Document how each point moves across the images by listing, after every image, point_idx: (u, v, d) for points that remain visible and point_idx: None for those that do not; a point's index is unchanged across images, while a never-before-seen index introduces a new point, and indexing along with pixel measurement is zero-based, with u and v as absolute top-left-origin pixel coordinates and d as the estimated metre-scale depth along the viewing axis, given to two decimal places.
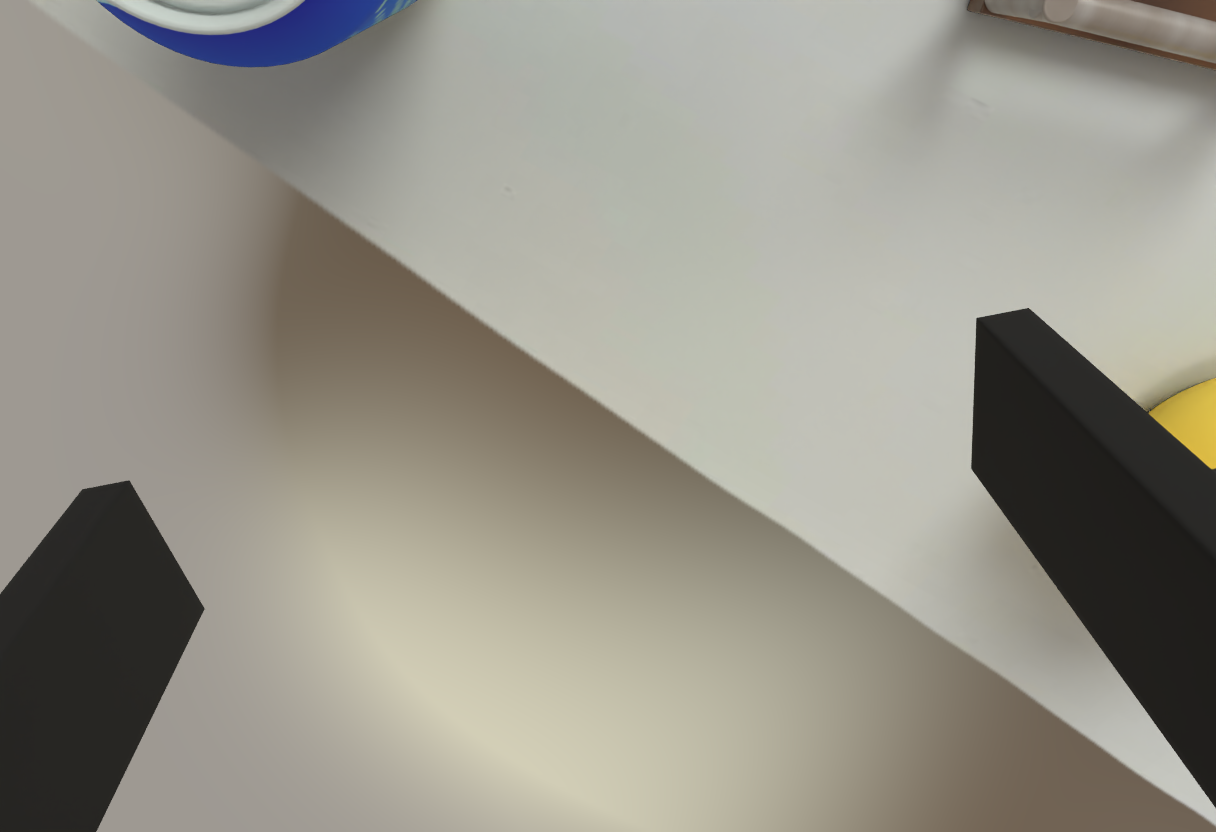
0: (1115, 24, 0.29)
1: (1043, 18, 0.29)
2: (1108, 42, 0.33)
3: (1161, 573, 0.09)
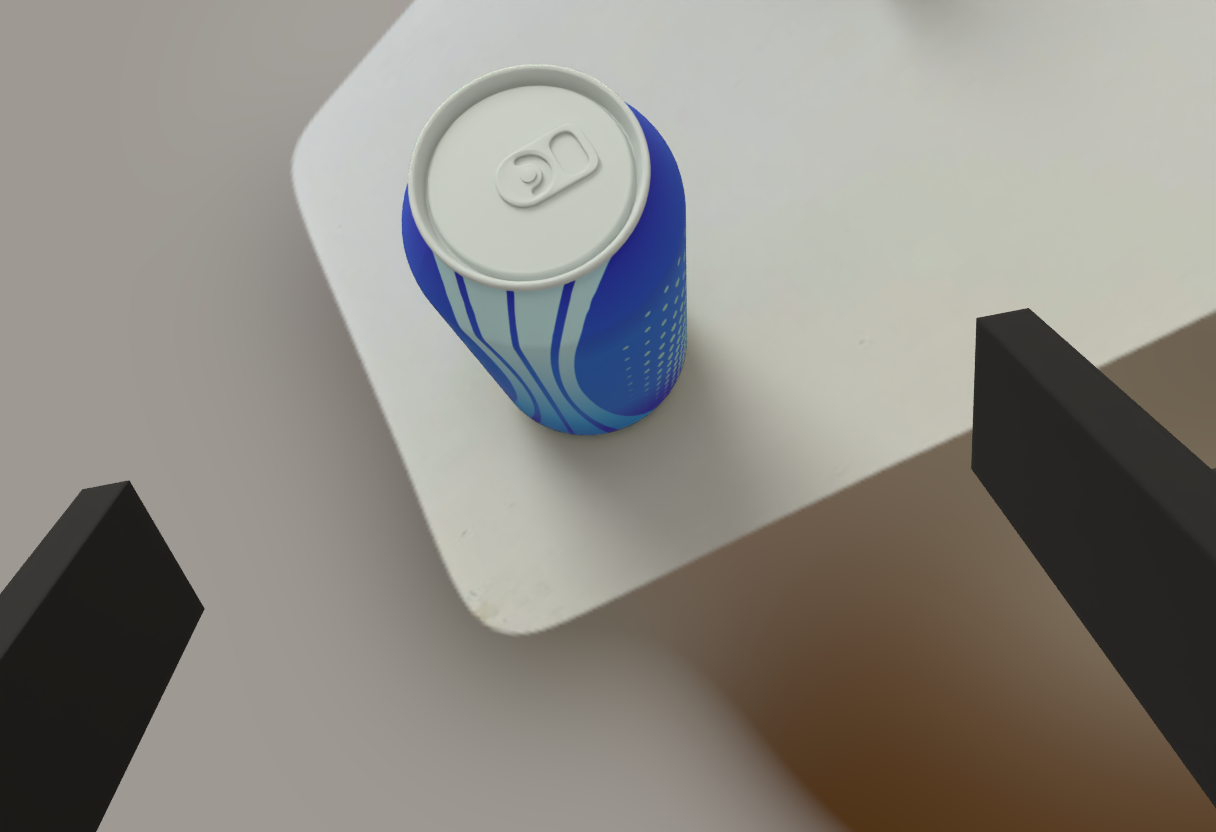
0: None
1: None
2: None
3: (1162, 573, 0.09)
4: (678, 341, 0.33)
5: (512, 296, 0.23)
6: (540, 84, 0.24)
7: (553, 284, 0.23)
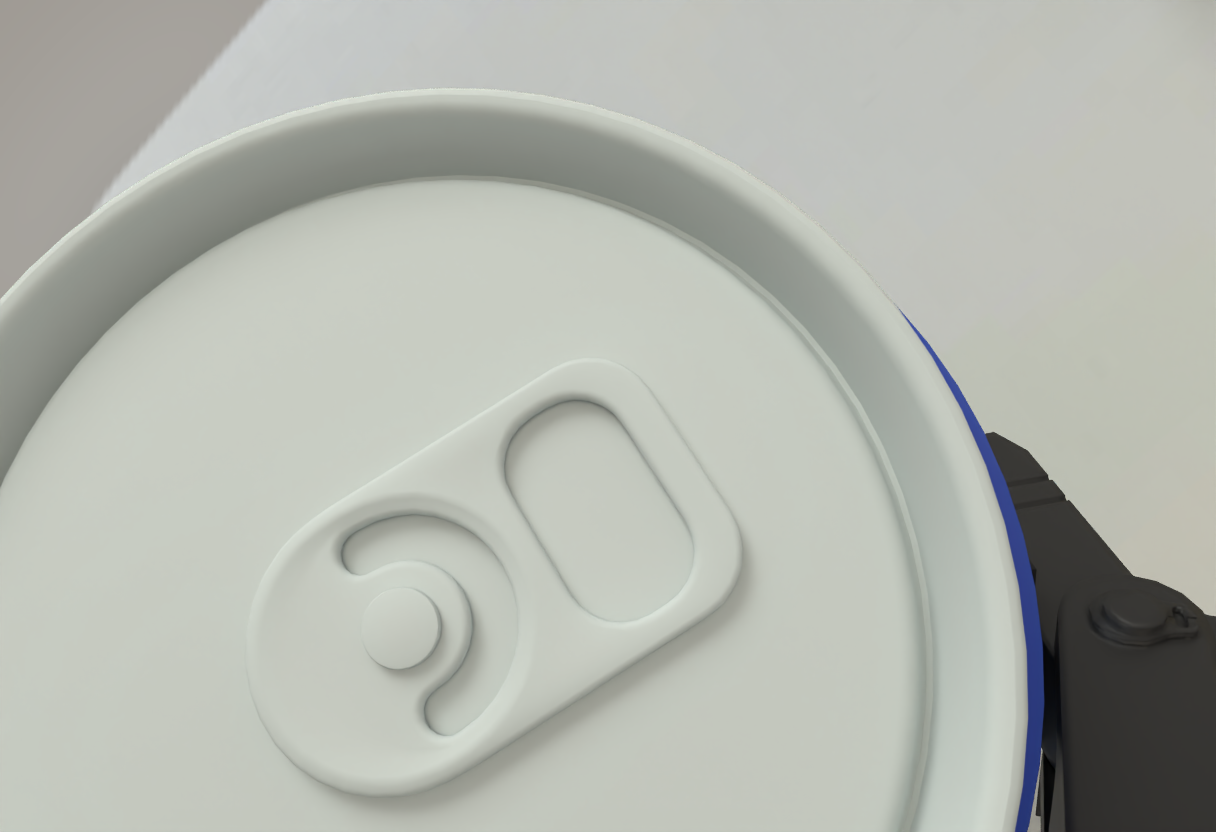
0: None
1: None
2: None
3: None
4: None
5: None
6: (459, 171, 0.06)
7: None
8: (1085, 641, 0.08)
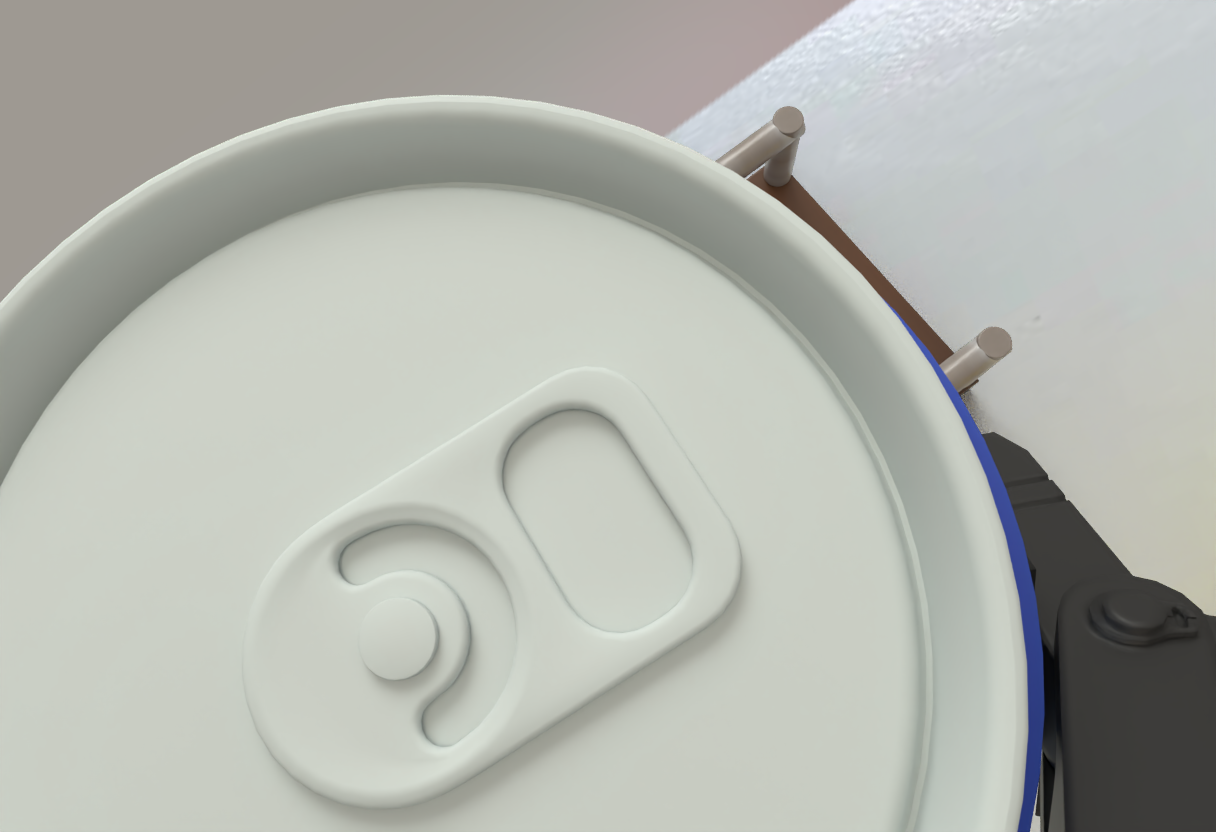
0: None
1: None
2: None
3: None
4: None
5: None
6: (458, 178, 0.06)
7: None
8: (1084, 641, 0.08)
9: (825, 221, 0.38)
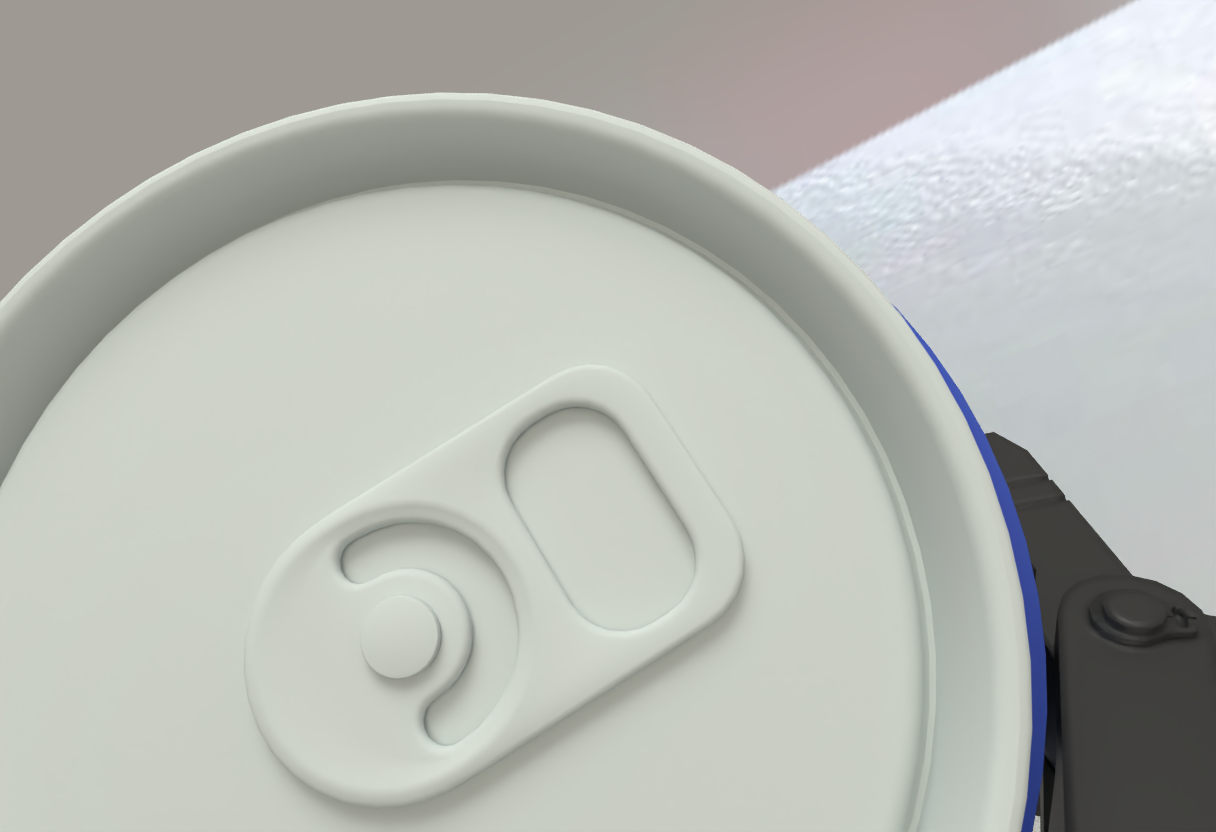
0: None
1: None
2: None
3: None
4: None
5: None
6: (460, 176, 0.06)
7: None
8: (1085, 641, 0.08)
9: None
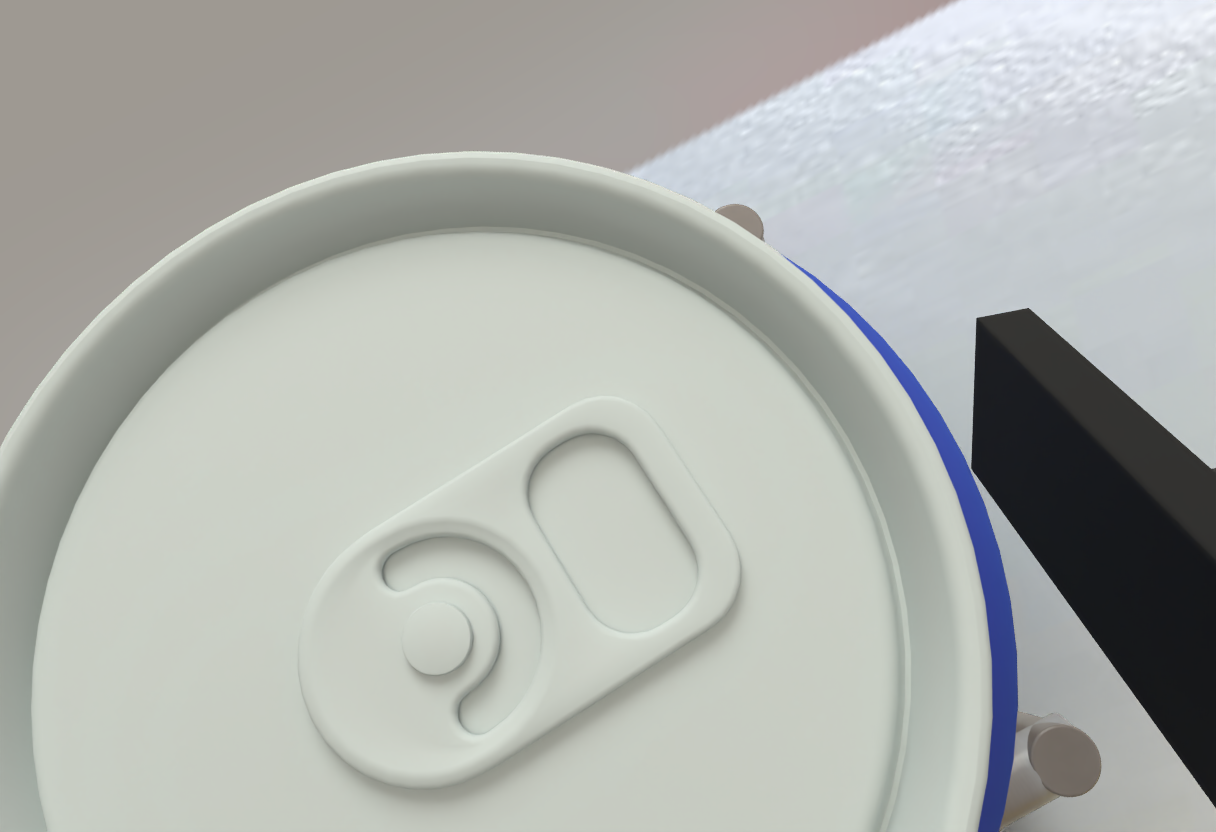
0: None
1: None
2: None
3: (1162, 573, 0.09)
4: None
5: None
6: (484, 223, 0.06)
7: None
8: None
9: None
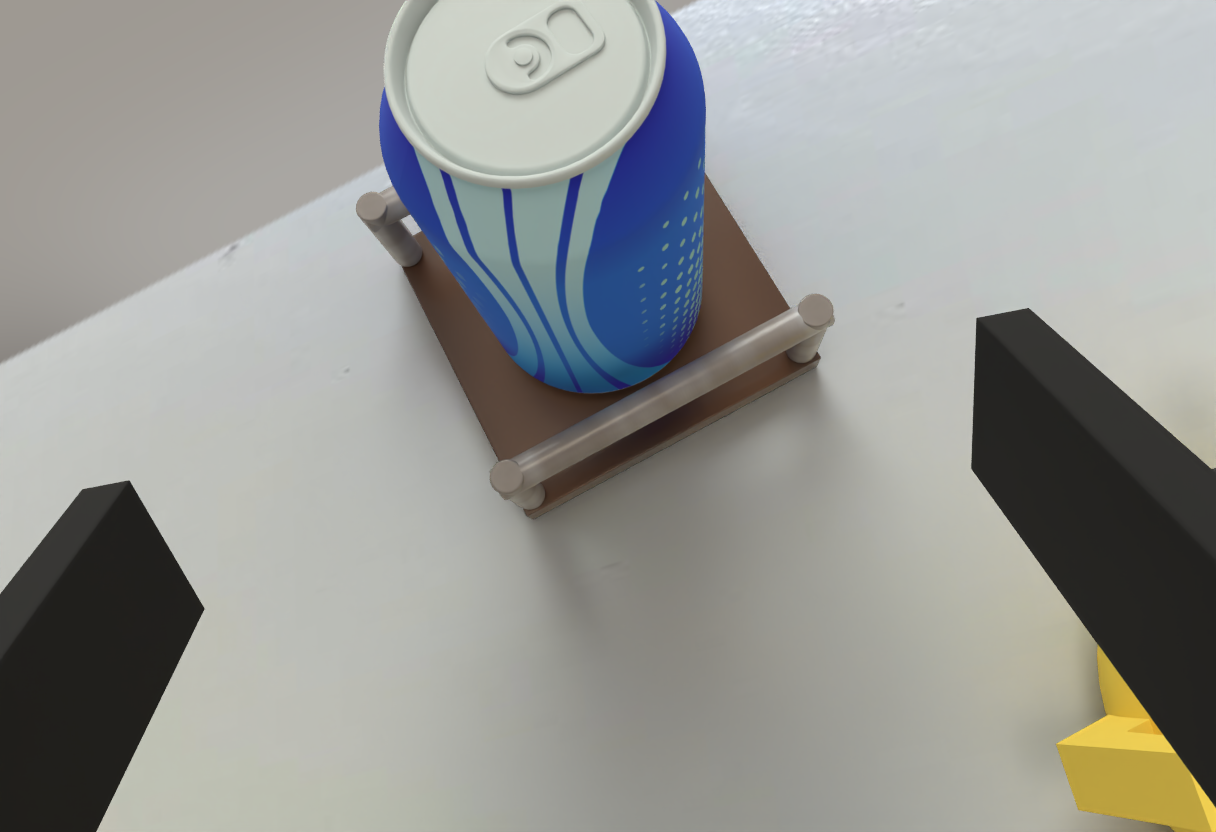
0: (564, 452, 0.30)
1: (506, 494, 0.30)
2: (648, 449, 0.34)
3: (1161, 573, 0.09)
4: (695, 277, 0.29)
5: (509, 197, 0.20)
6: None
7: (557, 177, 0.19)
8: None
9: None
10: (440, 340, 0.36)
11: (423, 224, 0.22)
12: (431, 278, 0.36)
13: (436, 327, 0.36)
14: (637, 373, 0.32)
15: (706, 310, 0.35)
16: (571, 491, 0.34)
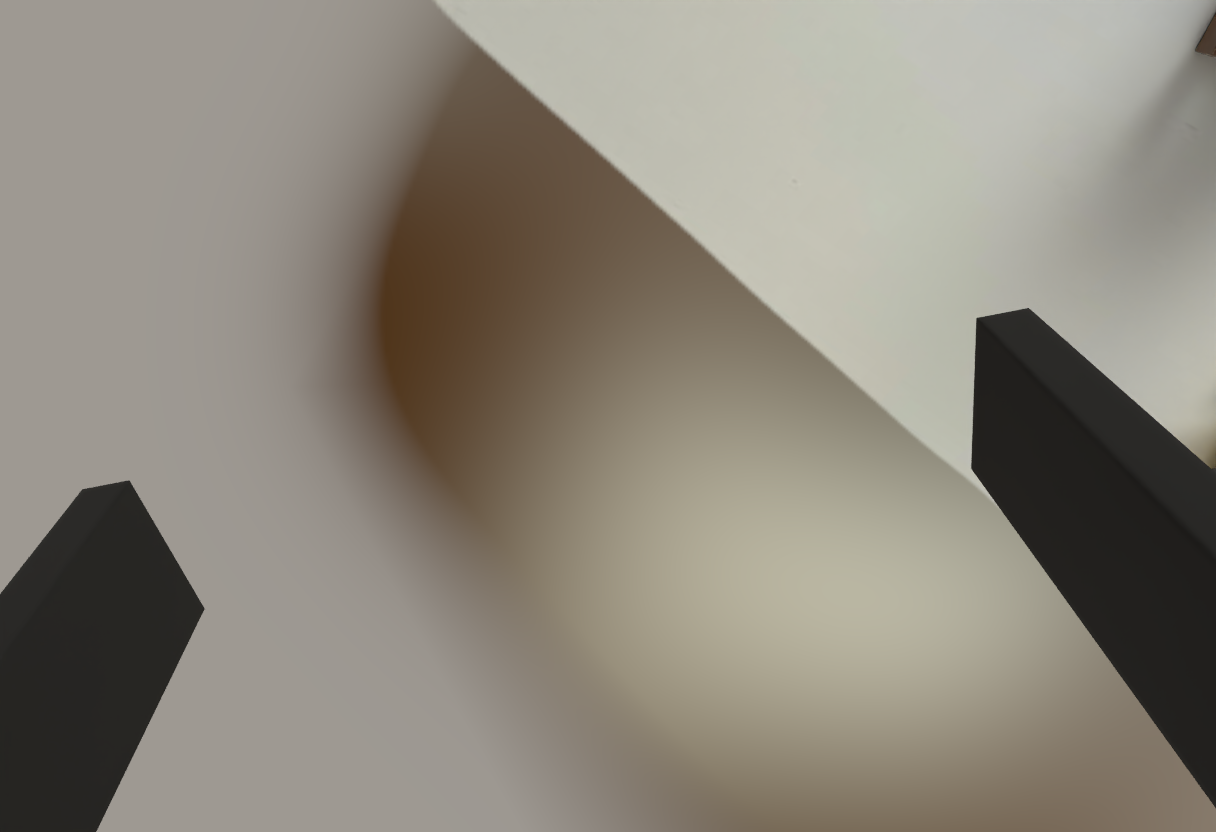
0: None
1: None
2: None
3: (1162, 574, 0.09)
4: None
5: None
6: None
7: None
8: None
9: None
10: None
11: None
12: None
13: None
14: None
15: None
16: None
